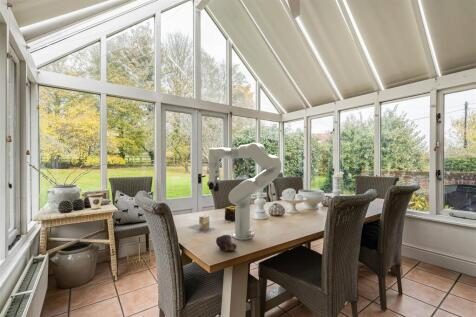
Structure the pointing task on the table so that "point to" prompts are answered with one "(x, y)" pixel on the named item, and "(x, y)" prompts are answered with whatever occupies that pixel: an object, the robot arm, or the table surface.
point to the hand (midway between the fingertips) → (213, 190)
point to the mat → (196, 227)
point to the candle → (230, 213)
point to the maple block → (203, 222)
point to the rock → (225, 243)
